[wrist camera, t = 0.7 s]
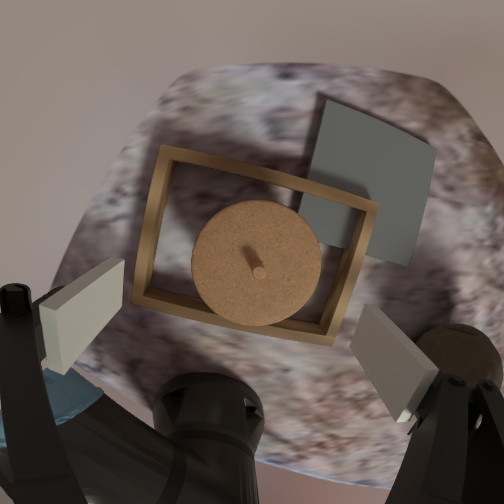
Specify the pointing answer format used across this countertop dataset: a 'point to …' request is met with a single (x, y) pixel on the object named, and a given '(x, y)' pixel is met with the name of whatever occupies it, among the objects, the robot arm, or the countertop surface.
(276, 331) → the pocket frame
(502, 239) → the countertop surface
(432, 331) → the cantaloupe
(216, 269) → the lidded jar
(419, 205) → the trivet
